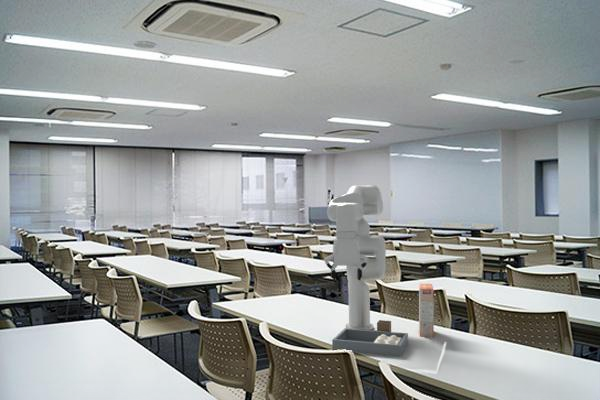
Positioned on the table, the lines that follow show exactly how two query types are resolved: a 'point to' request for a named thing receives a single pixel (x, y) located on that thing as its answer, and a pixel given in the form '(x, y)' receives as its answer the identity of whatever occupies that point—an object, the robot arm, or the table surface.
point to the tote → (369, 342)
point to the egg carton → (388, 339)
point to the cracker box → (426, 310)
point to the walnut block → (384, 326)
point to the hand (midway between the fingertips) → (346, 280)
